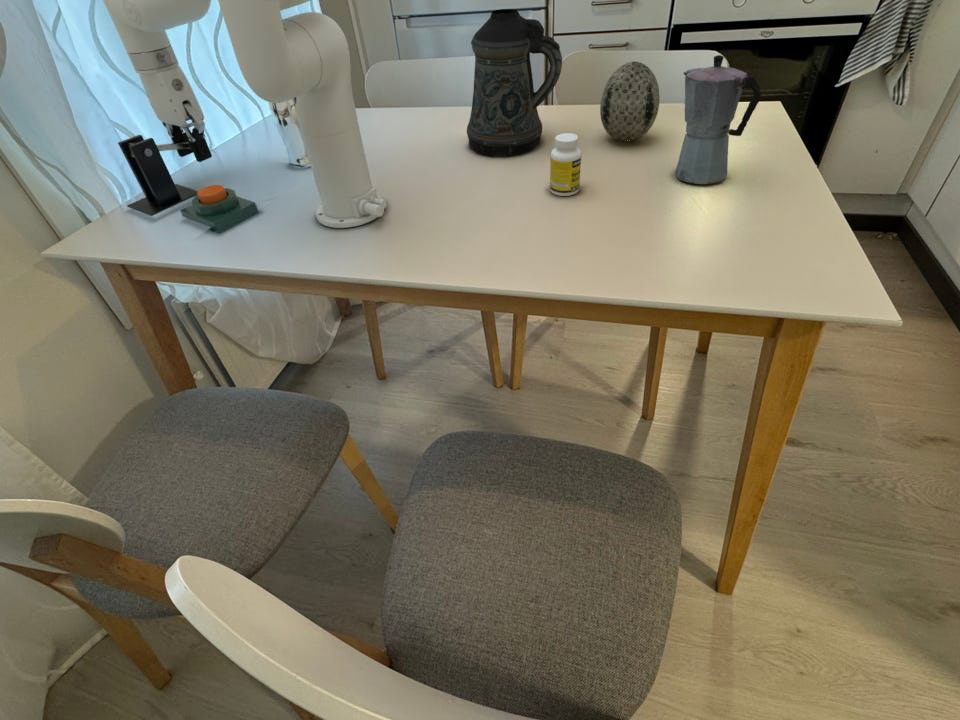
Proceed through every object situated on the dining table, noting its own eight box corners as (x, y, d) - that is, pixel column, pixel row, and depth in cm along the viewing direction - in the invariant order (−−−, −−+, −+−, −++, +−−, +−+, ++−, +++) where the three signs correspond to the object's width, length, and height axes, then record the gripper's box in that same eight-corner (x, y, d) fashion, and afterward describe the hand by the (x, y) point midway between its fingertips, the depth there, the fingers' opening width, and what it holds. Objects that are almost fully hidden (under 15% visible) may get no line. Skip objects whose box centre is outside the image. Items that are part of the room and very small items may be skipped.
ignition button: (232, 196, 103) (229, 187, 101) (210, 207, 100) (206, 198, 99) (217, 191, 105) (214, 182, 104) (195, 201, 102) (191, 193, 101)
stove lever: (187, 148, 113) (185, 135, 112) (202, 152, 111) (200, 140, 110) (126, 155, 105) (123, 141, 103) (141, 159, 102) (138, 146, 101)
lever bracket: (178, 189, 116) (149, 127, 108) (203, 197, 112) (174, 133, 104) (129, 210, 110) (94, 147, 101) (153, 220, 106) (119, 155, 97)
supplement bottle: (574, 198, 99) (576, 144, 92) (545, 195, 101) (546, 141, 94) (583, 186, 103) (586, 132, 96) (555, 182, 104) (556, 130, 98)
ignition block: (259, 212, 105) (251, 193, 102) (219, 234, 100) (210, 213, 97) (224, 201, 110) (216, 182, 107) (184, 220, 105) (175, 201, 102)
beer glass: (311, 170, 118) (290, 96, 108) (282, 169, 120) (258, 97, 110) (324, 157, 123) (305, 85, 113) (296, 157, 125) (275, 86, 115)
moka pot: (684, 157, 108) (704, 43, 95) (755, 181, 99) (789, 57, 85) (652, 172, 105) (668, 55, 91) (722, 198, 95) (752, 72, 82)
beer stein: (462, 135, 127) (449, 9, 110) (543, 123, 128) (543, -3, 112) (475, 163, 114) (464, 25, 98) (565, 149, 116) (569, 11, 99)
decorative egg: (587, 138, 120) (591, 62, 109) (629, 125, 123) (637, 51, 113) (621, 155, 112) (629, 75, 102) (666, 141, 115) (678, 62, 105)
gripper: (198, 57, 99) (236, 157, 111) (148, 51, 107) (188, 144, 119) (160, 69, 94) (204, 171, 106) (111, 61, 103) (156, 157, 115)
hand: (195, 156), depth 113 cm, fingers closed on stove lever, 5 cm apart
